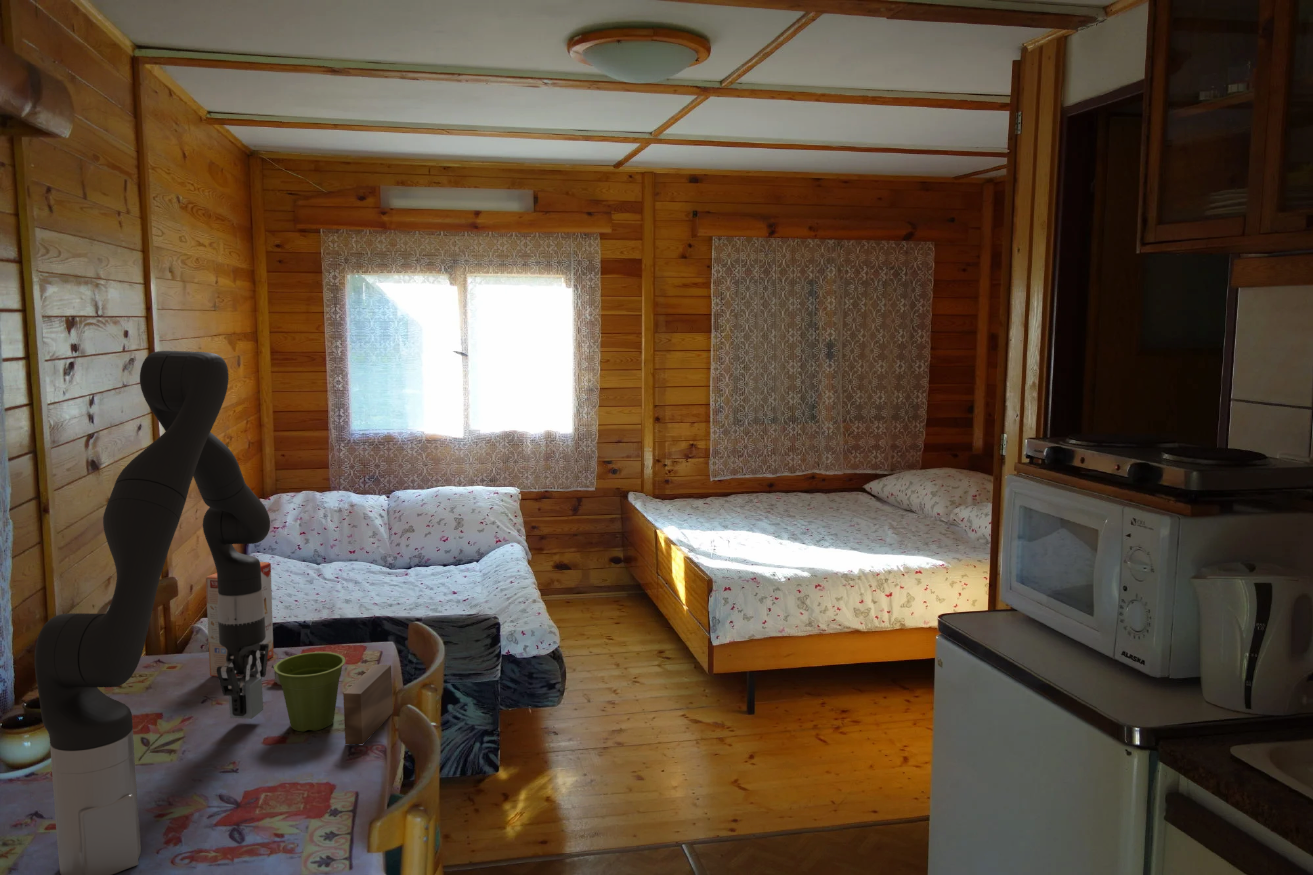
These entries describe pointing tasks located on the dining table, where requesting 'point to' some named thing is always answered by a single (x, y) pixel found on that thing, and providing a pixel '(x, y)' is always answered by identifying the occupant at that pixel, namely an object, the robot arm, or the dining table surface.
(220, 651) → the cracker box
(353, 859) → the dining table surface
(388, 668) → the rail
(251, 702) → the grey upright block
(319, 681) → the plant pot
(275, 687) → the dining table surface
